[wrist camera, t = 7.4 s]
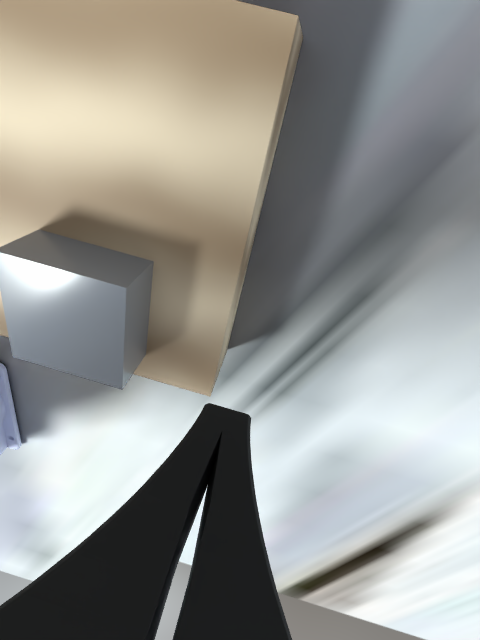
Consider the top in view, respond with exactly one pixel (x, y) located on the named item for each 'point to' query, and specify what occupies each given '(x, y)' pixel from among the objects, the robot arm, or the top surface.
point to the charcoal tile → (76, 306)
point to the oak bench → (148, 149)
